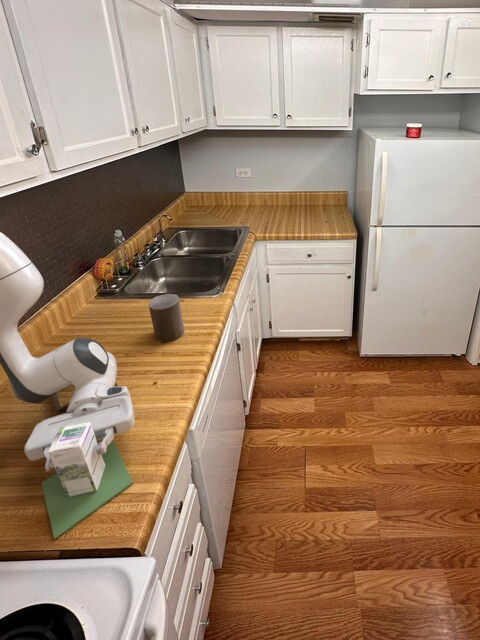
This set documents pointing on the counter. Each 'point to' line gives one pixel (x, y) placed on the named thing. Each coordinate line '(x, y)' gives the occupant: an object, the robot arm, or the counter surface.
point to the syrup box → (77, 459)
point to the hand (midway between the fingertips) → (76, 460)
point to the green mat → (79, 507)
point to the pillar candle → (166, 317)
